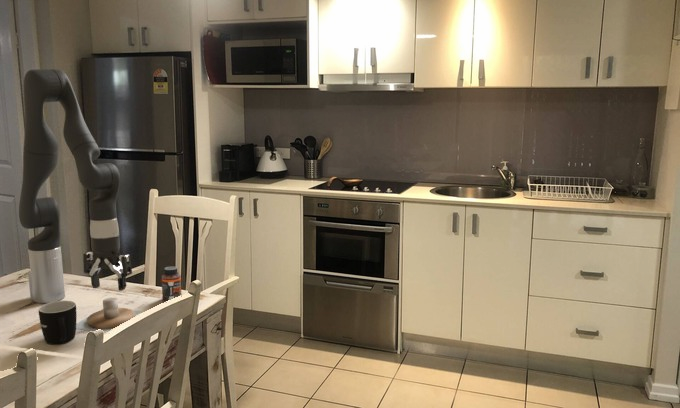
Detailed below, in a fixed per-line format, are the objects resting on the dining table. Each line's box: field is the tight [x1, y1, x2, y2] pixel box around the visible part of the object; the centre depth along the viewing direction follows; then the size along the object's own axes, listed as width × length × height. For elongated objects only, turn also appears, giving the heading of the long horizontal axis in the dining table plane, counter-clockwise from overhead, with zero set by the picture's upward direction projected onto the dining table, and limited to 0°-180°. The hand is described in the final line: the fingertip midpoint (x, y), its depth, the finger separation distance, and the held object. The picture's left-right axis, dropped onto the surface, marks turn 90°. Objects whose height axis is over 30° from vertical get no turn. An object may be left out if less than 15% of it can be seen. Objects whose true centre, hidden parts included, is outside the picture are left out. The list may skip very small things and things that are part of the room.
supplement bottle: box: [161, 266, 182, 303], centre depth 181 cm, size 6×6×11 cm
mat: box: [76, 308, 143, 333], centre depth 165 cm, size 16×16×1 cm
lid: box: [86, 297, 135, 329], centre depth 165 cm, size 13×13×6 cm
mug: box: [38, 300, 77, 346], centre depth 150 cm, size 12×9×10 cm
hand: (109, 288), depth 163 cm, fingers open, 8 cm apart
